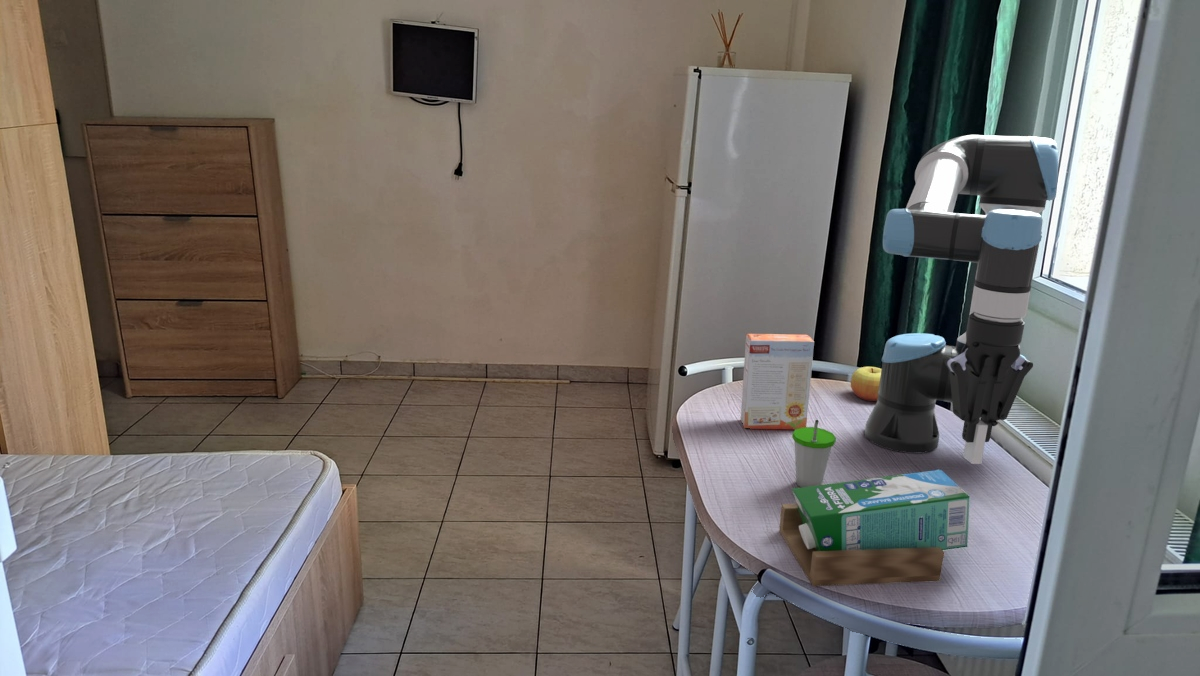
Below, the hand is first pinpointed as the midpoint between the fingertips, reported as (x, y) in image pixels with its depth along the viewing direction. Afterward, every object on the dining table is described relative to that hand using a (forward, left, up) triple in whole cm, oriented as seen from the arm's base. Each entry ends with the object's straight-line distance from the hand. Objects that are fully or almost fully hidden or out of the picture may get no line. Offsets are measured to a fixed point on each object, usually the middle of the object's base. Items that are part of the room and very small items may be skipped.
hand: (972, 459), depth 123 cm
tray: (+17, 0, -16) cm, 24 cm away
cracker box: (+14, -53, -16) cm, 57 cm away
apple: (-16, -69, -17) cm, 73 cm away
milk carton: (+2, +1, -8) cm, 8 cm away
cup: (+16, -24, -16) cm, 33 cm away
